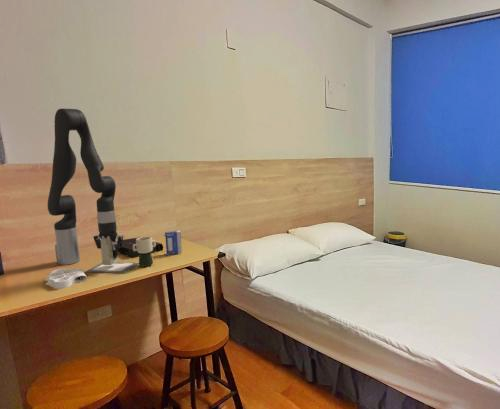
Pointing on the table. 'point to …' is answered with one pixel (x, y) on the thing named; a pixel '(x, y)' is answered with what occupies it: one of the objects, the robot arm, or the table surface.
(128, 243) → the diary
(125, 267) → the notepad
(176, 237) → the walkman
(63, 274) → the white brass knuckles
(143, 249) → the character mug
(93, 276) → the table surface
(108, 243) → the skincare box
